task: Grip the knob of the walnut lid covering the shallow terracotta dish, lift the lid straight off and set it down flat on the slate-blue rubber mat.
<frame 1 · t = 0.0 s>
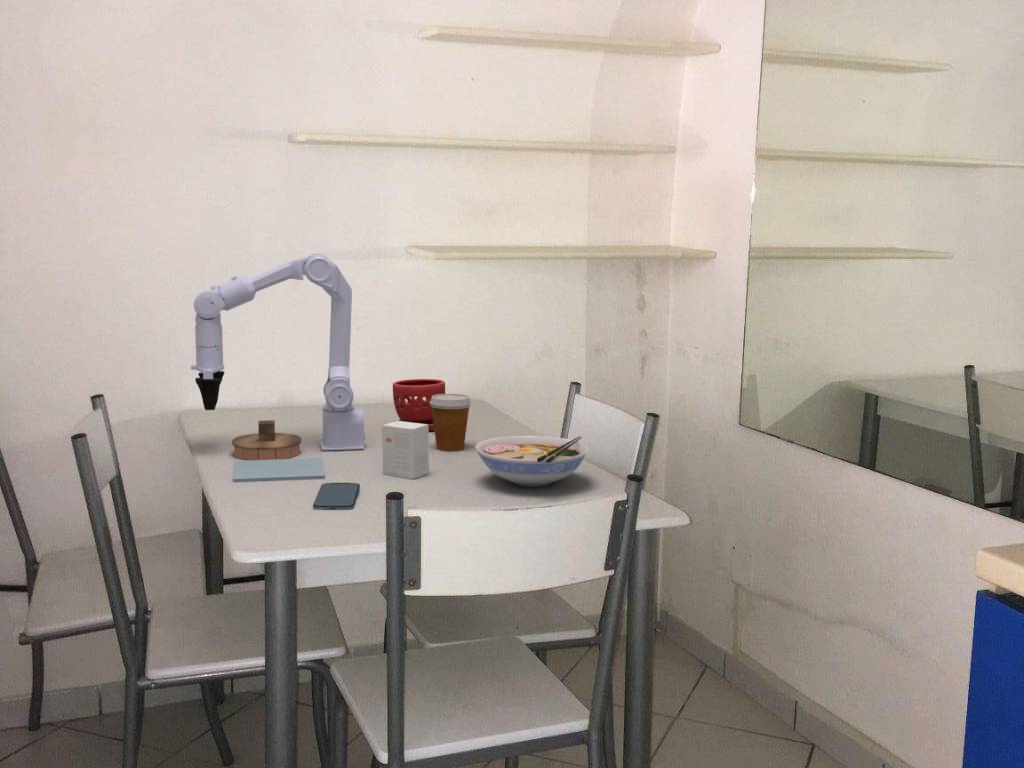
hand: (211, 406, 236), 10 cm above the table, fingers open, 7 cm apart
disposable coffee cup: (450, 449, 244), on the table
ramen bowl: (531, 483, 214), on the table
smartphone: (337, 502, 200), on the table
lid: (267, 442, 236), point 2 cm above the table, touching dish
mat: (279, 470, 221), on the table
dish: (267, 453, 236), on the table
plant pot: (419, 429, 267), on the table
small box: (405, 475, 219), on the table
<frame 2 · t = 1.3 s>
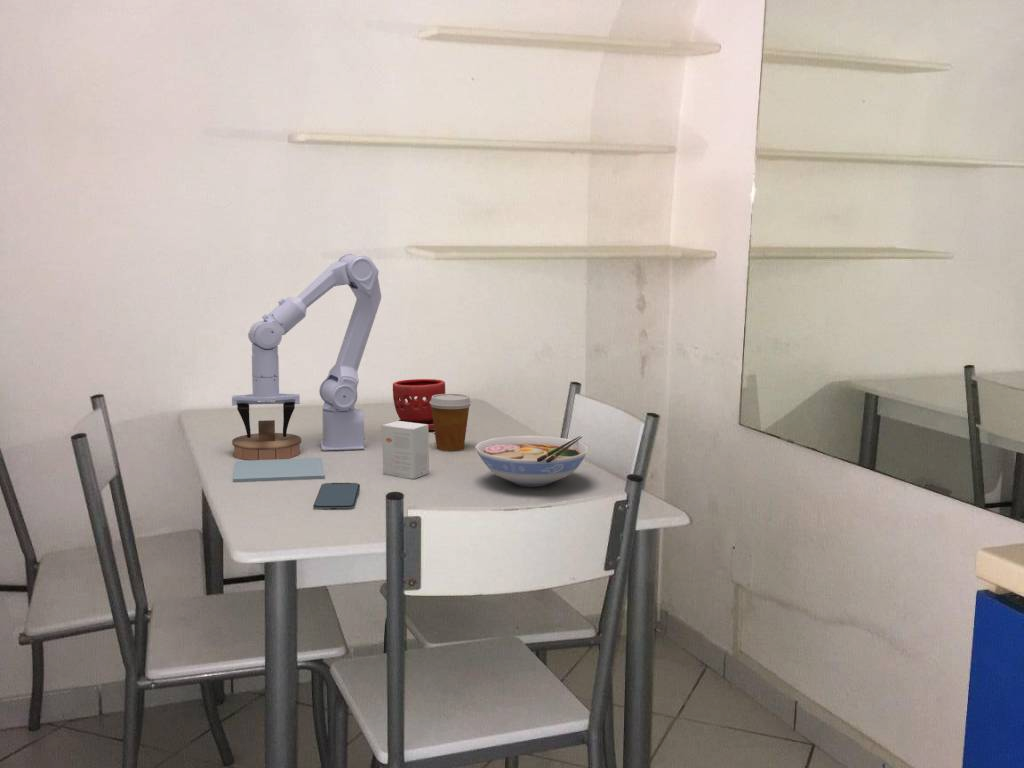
hand: (266, 436, 236), 4 cm above the table, fingers open, 7 cm apart
nothing on the table moved.
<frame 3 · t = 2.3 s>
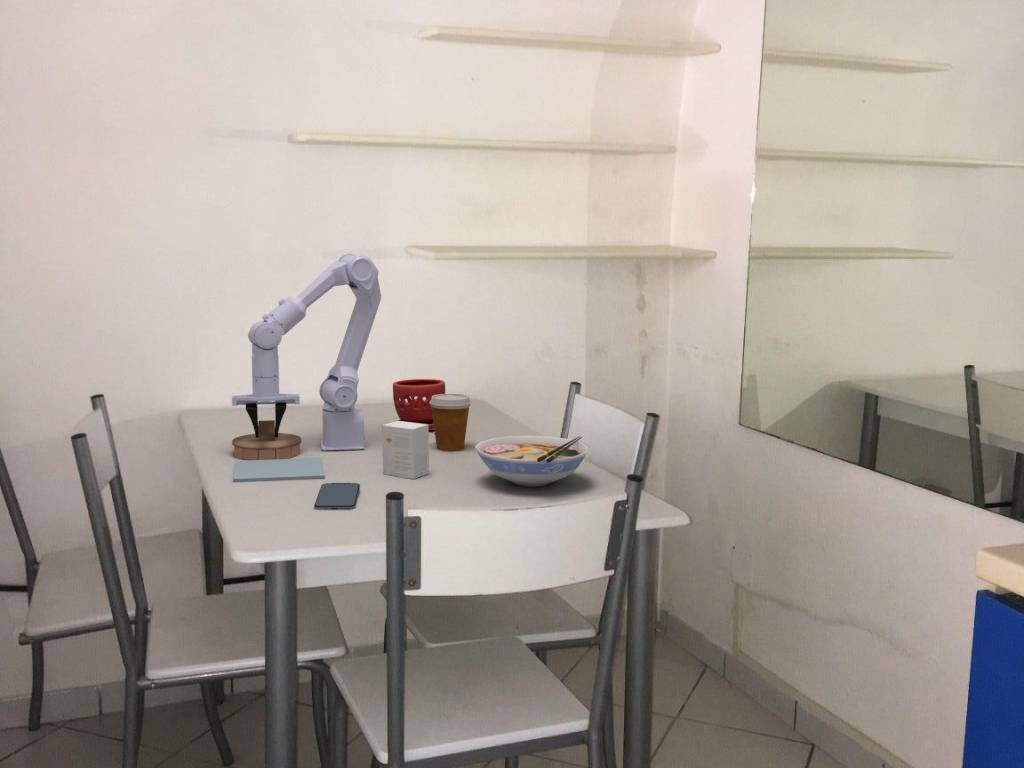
hand: (266, 436, 236), 4 cm above the table, fingers closed on lid, 3 cm apart
lid: (267, 442, 236), point 2 cm above the table, touching dish, gripper
everything else where it was.
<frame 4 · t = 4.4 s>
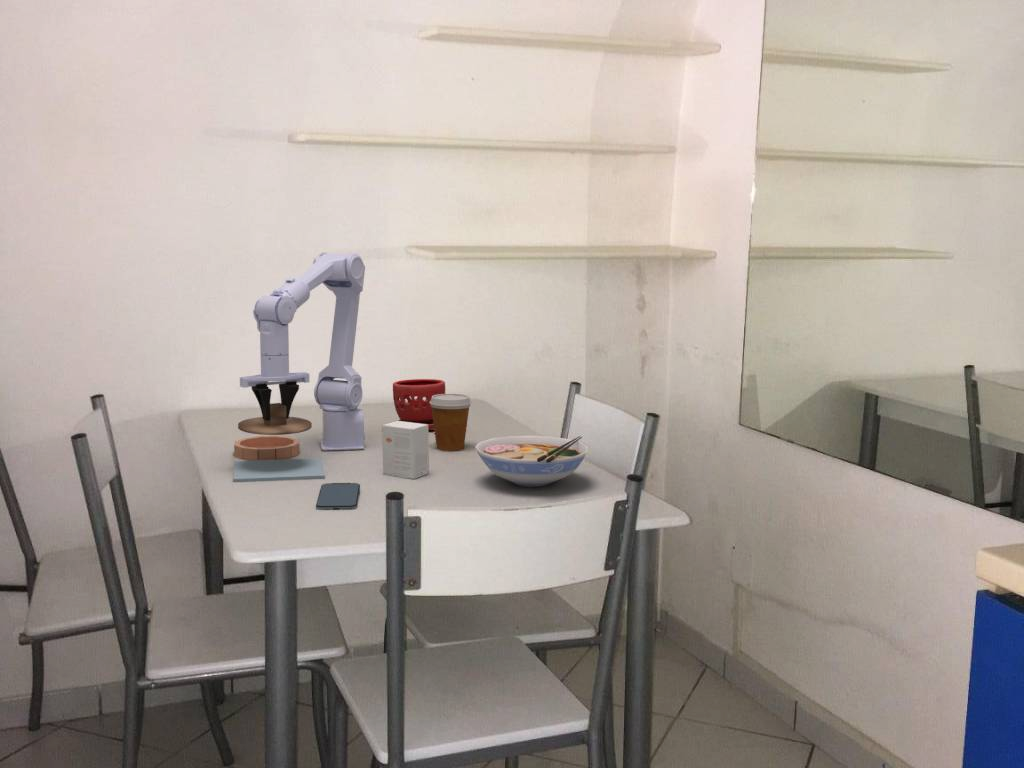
hand: (275, 418, 221), 10 cm above the table, fingers closed on lid, 3 cm apart
lid: (275, 426, 222), point 9 cm above the table, touching gripper
everything else where it was.
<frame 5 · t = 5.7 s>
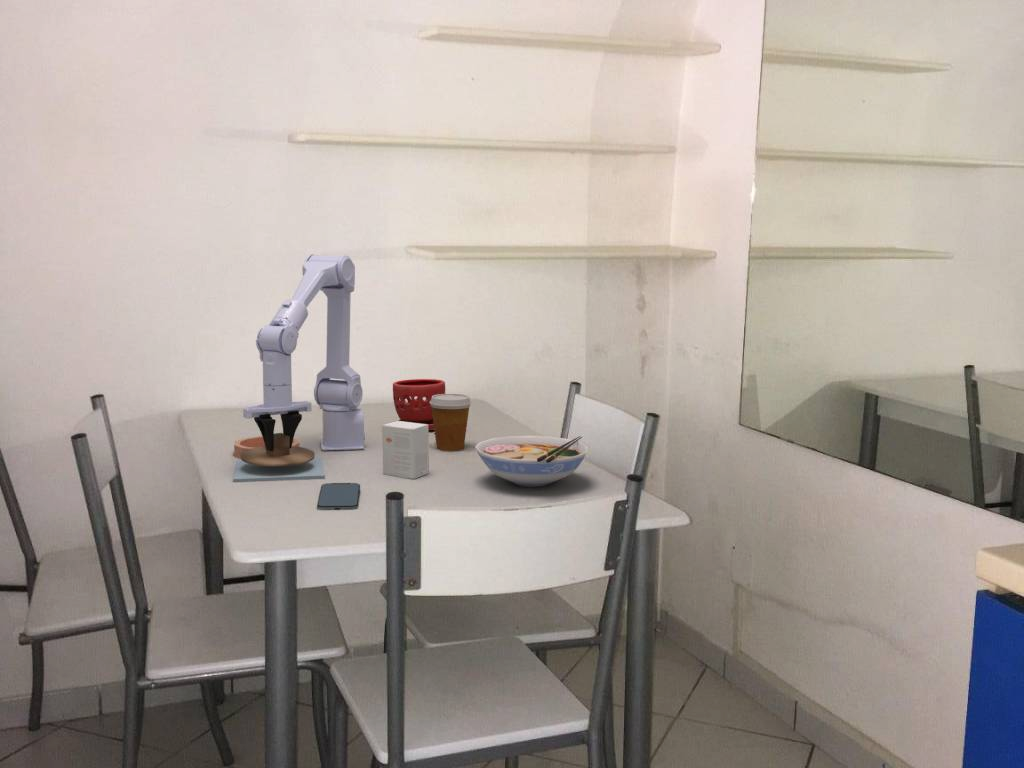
hand: (278, 448, 220), 5 cm above the table, fingers closed on lid, 3 cm apart
lid: (277, 457, 220), point 3 cm above the table, touching gripper
everything else where it was.
when the fingers open (3 cm above the table, at t = 6.7 s): lid drops 1 cm, resting on mat.
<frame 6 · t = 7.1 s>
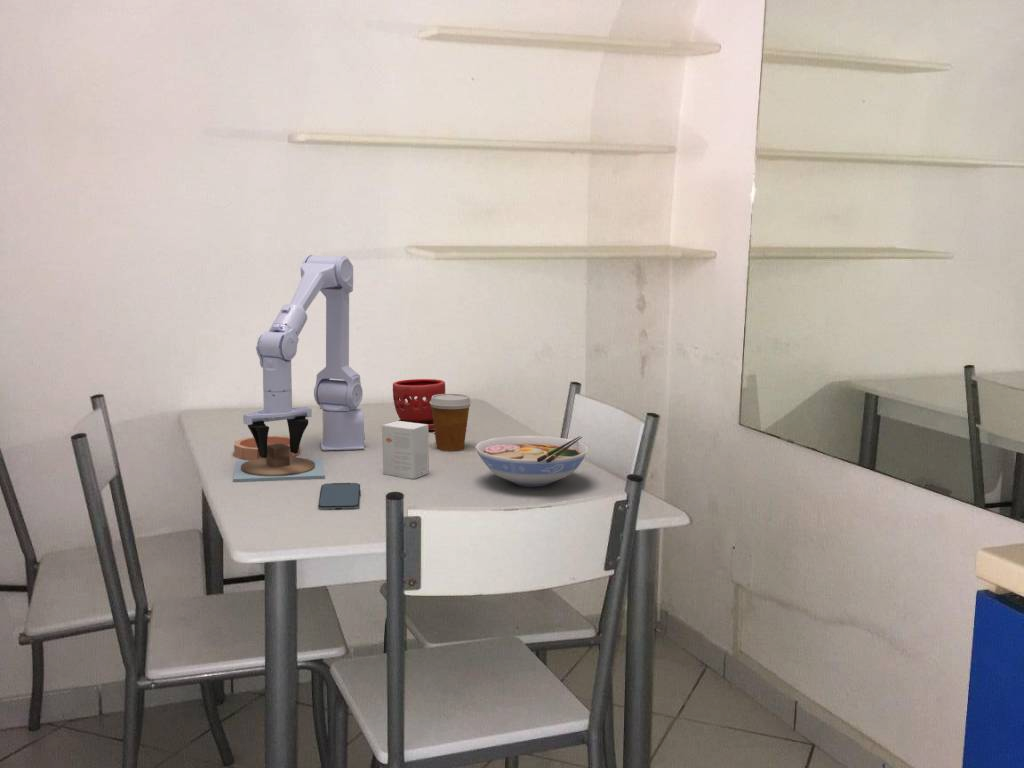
hand: (278, 454, 220), 3 cm above the table, fingers open, 6 cm apart
lid: (278, 467, 221), point 1 cm above the table, touching mat
everything else where it was.
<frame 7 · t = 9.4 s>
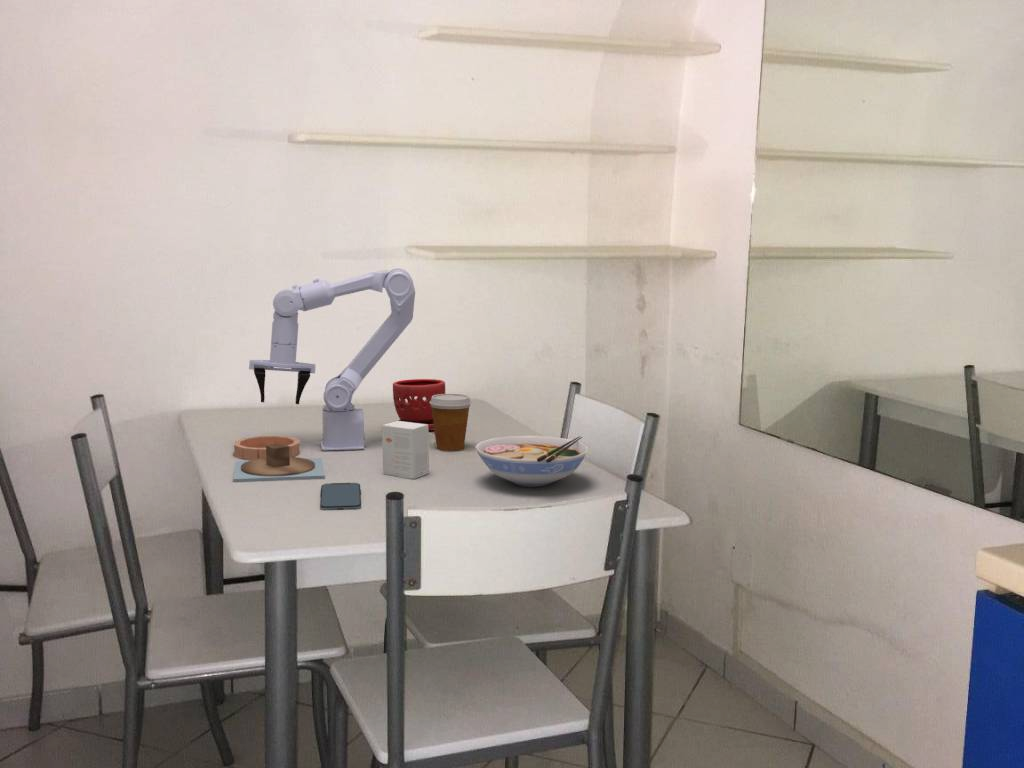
hand: (279, 402, 240), 10 cm above the table, fingers open, 7 cm apart
nothing on the table moved.
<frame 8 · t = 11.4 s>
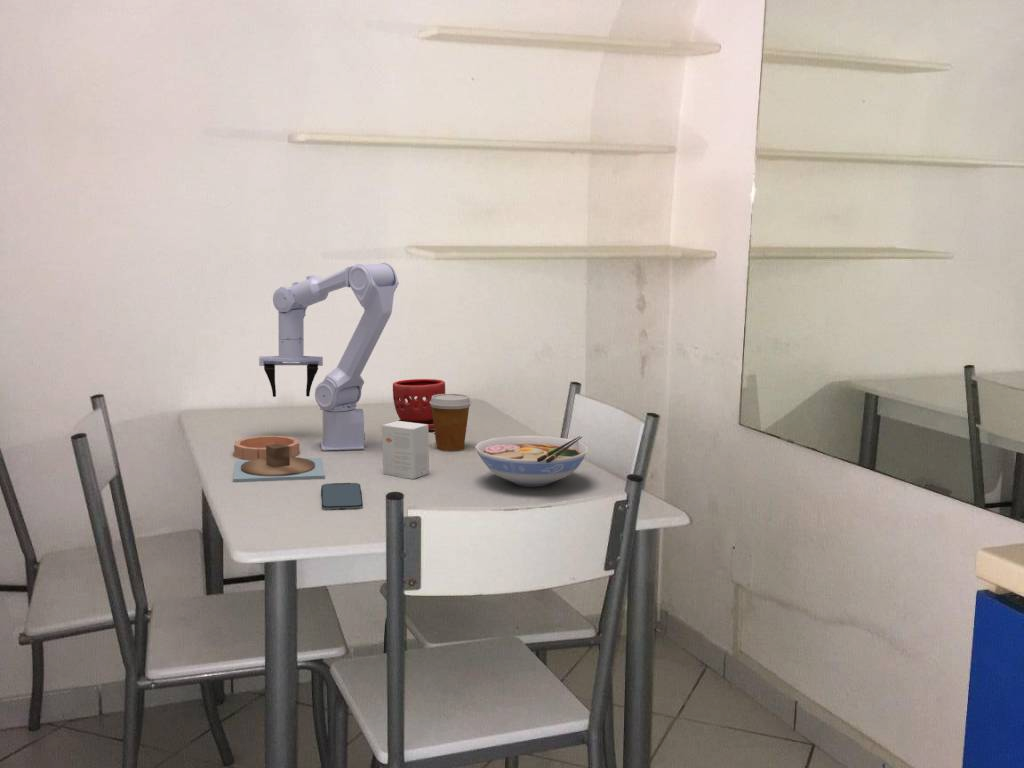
hand: (291, 395, 250), 10 cm above the table, fingers open, 7 cm apart
nothing on the table moved.
at the end: lid inside the target area on the mat (0.4 cm from its centre), point 0.6 cm above the mat's base; lid touching mat; lid tilted 0° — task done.
